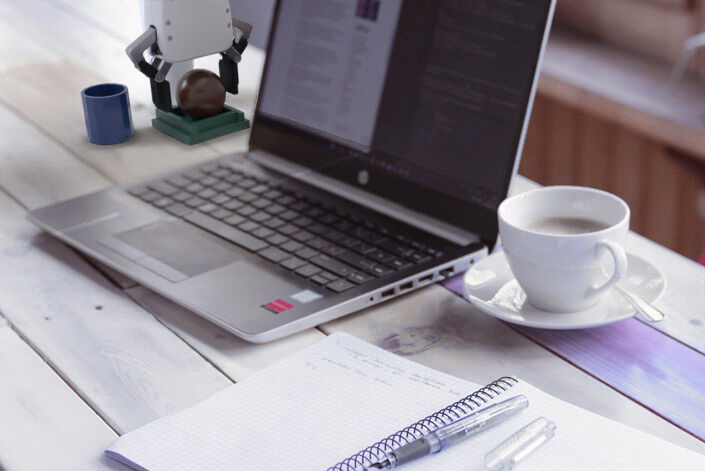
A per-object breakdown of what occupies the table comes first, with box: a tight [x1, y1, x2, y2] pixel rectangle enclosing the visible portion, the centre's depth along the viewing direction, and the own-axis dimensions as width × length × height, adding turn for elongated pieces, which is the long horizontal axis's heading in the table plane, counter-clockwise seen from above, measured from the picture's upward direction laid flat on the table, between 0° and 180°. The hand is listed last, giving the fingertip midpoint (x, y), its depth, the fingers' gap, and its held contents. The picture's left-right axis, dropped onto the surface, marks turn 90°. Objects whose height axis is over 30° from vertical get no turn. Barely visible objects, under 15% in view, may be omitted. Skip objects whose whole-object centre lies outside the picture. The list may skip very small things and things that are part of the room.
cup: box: [80, 82, 135, 146], centre depth 117 cm, size 6×6×6 cm
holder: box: [151, 103, 251, 146], centre depth 121 cm, size 9×9×2 cm
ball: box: [175, 68, 227, 120], centre depth 119 cm, size 6×6×6 cm
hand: (197, 100), depth 119 cm, fingers open, 9 cm apart
